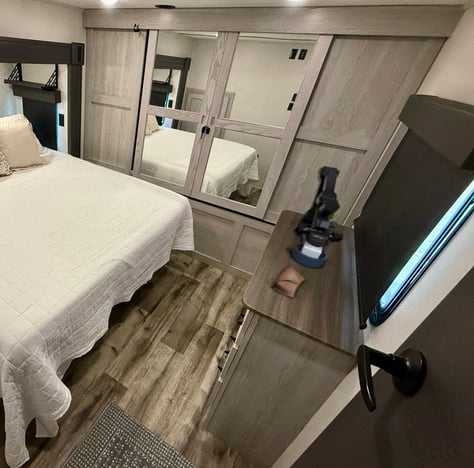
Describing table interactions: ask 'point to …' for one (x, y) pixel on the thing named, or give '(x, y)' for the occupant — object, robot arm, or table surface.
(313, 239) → the medicine bottle
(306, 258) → the blue round bowl
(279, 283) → the sunglasses case
